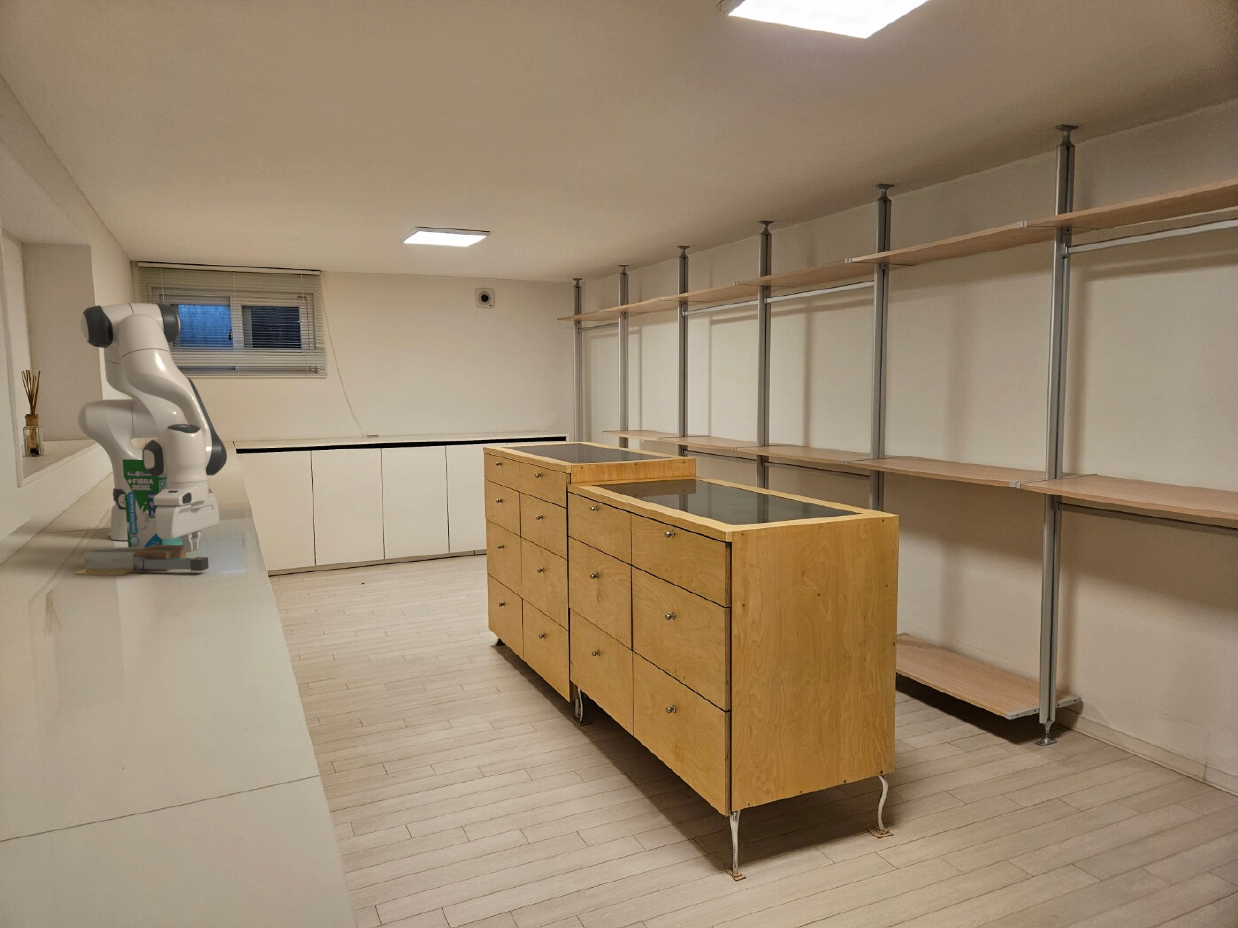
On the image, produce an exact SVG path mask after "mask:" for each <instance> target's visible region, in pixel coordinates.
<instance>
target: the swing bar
mask: <svg viewBox="0 0 1238 928" xmlns="http://www.w3.org/2000/svg"><path fill="white" fill-rule="evenodd" d="M147 569H171V570H185V571H186V570H190V571H191V572H202V571H205V570H207V569H209V557H207V556H197V557H190V558H189V557H187V558H148V557H147V556H146V555H141V556H135V557H133V570H134V572H144V571H143V570H147Z"/></svg>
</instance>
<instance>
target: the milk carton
mask: <svg viewBox="0 0 1238 928" xmlns="http://www.w3.org/2000/svg"><path fill="white" fill-rule="evenodd" d="M123 474H124V490H125V505H126V520H127V535H128V540H127V547H132V548H148V547H151V546H154V545H184V544H183V543H182V541H181V539H180V537H177V538H174V539H160V538H159V536H158V535H157V532H156V522H155V511H156V508H157V507H158V506H156V505H154V497H155V496H156V495H157V494H158V493H160V492H161V491H162V490H163V489H164V488H165V487H166V480H167V477H164V478H161V477H154V476H153V475H151V474H150V473H148V472H147V471H146V470H145V469H144V466H143V459H123Z"/></svg>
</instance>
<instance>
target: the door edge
mask: <svg viewBox="0 0 1238 928" xmlns="http://www.w3.org/2000/svg"><path fill="white" fill-rule="evenodd" d="M141 555H146V556H147V557H148V558H188V557H187V552H185V551H184V545H154V546H151V547H148V548H132V547H128V546H126V547H125V546H123V547H120V546H119V547H117V546H115V547H114V546H113V547H112V546H111V547H110V546H109V547H107V546H104V547H100V548H97V549H94V550H91V551H88V552H84V554H83V557H84V567H85V568H84V569H133V557H135V556H141ZM171 570H172V569H147V570H143V571H142V572H169V571H171Z"/></svg>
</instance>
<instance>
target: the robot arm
mask: <svg viewBox="0 0 1238 928" xmlns="http://www.w3.org/2000/svg"><path fill="white" fill-rule="evenodd" d="M180 329H181V320H180V318H179V315H178V313H177V312H176V309H175V308H174V307H173V306H172V305H171V304H166V303H161V302H156V303H145V302H129V303H121V304H119V303H118V304H108V305H102V306H101V305H94V306H93V305H92V306H89V307H87V308H85V309H84V310H83V312H82V316H81V319H80V330H81V333H82V335H83V337H84V339H85V340H86V341H87V343H88V344H89V345H91V346H92V347H95V348H101V349H103V357H104V369H105V379H106V381H107V383H108V385H109V386H110V387H112V389H114V390H116V391H117V392H119V393H121V394H123V395H126V396H128V397H130V399H128V398H127V399H101V400H95V401H91V402H90V401H89V402H86V403H85V404H84V405H82V406H81V408H80V409H79V412H78V415H77V422H78V426H79V428H80V430H81V431H82V432H83V434H85V436H87V437H88V438H89V439H92V440H94V441H95V442H96V443H97V444H99V445H100V446H101V447H102V448H103V450H104V451H105V452H106V454H107V455H108V458H109V460H110V464H111V468H112V473H113V480H114V481H113V484H114V485H113V486H114V488H113V489H112V497H113V499H112V500H113V501H114V502H115V503H114V505H113V506H112V507H111V514H110V515H111V517H110V531H108V532H107V537H110V539H112V540H117V541H128V535H127V520H126V505H125V490H124V474H123V459H143V466H144V469H145V470H146V471H147V472H148V473H150V474H151V475H153V476H154V477H161V478H164V477H167V480H166V487H165V488H164V489H163V490H162V491H161V492H160V493H158V494H157V495H156V496H155V497H154V505H156V506H158V507H157V508H156V511H155V522H156V532H157V535H158V536H159V538H160V539H174V538H177V537H180V539H181V541H182V543H183V544H184V551H185V552H186V553H191V552H193V551H197V550H199V541H200V539H201V536H202V532H201V531H202V530H205V529H208V528H212V527H215V526H217V525H218V526H219V523H220V519H221V518H220V510H219V504H218V503H219V502H218V499H217V498H216V497H215V494H214V492H213V491H212V490H211V489H210V488H209V477H208V476H215V475H217V474H218V473H219V472H220V471H221V470H222V469H223V468H224V466H225V465H226V463H227V460H228V456H227V455H228V454H227V449H226V447H225V445H224V443H223V440H221V438H220V436H219V435H218V433H217V431H216V429H215V427H214V425H213V423H212V421H211V418H210V416H209V414H208V412H207V409H206V407H205V405H204V402H203V400H202V398H201V395H200V393H199V391H198V389H197V388H196V385H195V384H194V382H193V380H192V379H191V378H190V377H188V376H186V375H184V373H183V372H182V371H181V370H180V369H179V368H178V366H177V365H176V363H175V361H174V360H173V357H172V354H171V349H170V346H169V344H170V343H172V342H175V341H176V340H177V339H178V338H179V336H180V331H181V330H180ZM186 422H187V423H186ZM144 438H145V439H149V438H154V439H151V440H149V441H148V442H147V443H145V444H146V445H145V446H144V447H143V448H142V449H140V448H137V447H135V446H134V445H133V444H132V442H131V441H132V440H134V439H144Z"/></svg>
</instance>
